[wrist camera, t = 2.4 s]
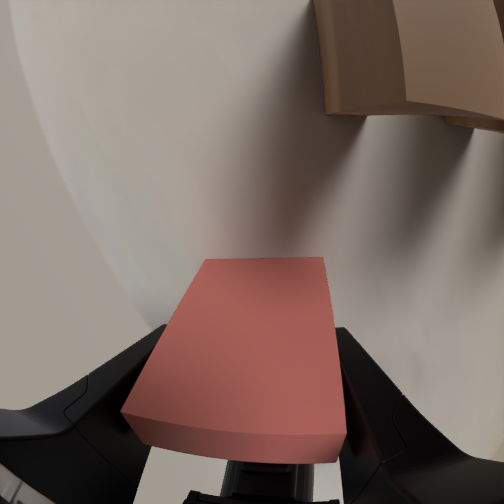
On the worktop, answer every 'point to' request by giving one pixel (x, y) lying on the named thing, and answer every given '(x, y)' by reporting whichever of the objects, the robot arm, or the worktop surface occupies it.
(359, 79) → the domino
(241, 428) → the domino
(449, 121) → the domino
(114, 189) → the worktop surface
